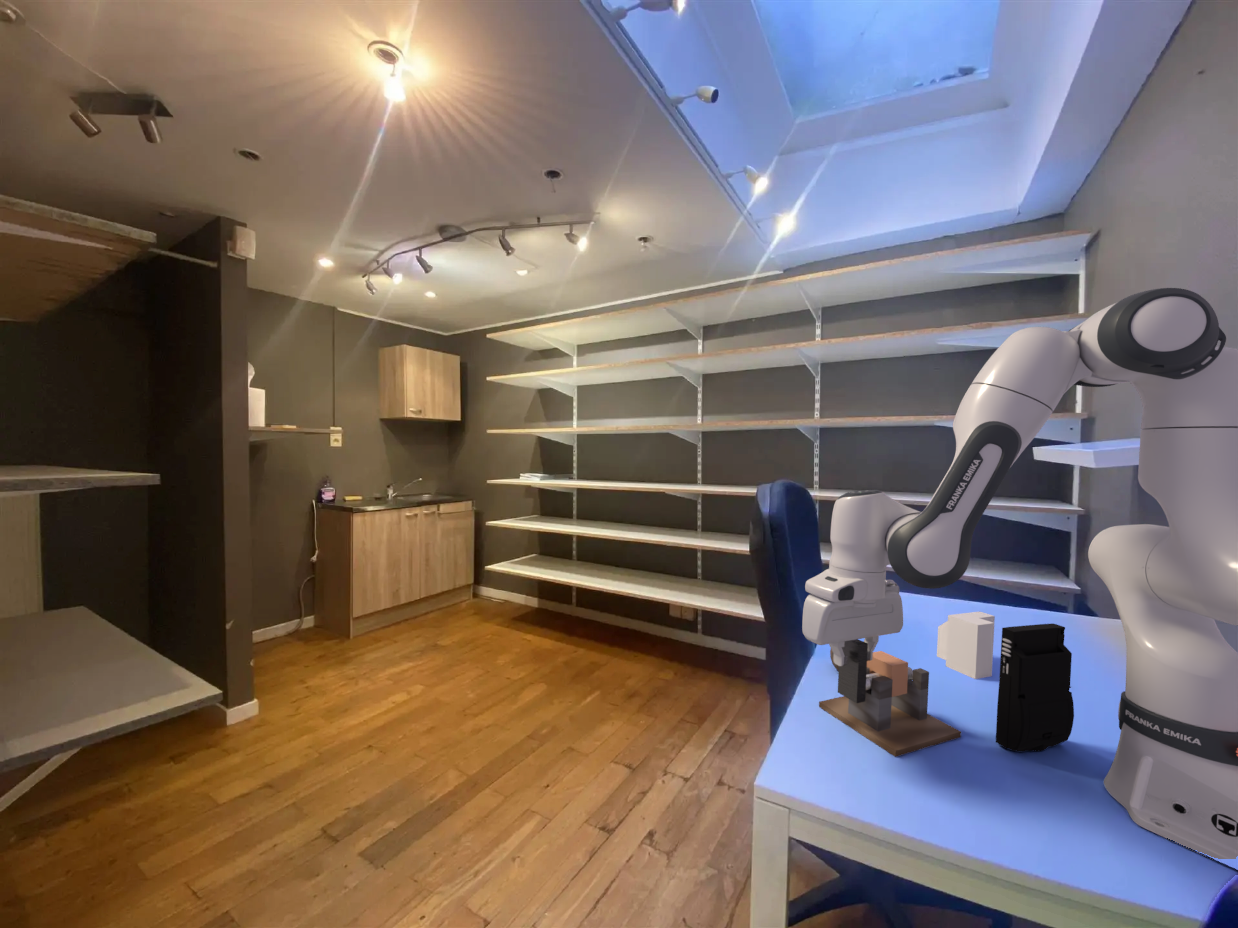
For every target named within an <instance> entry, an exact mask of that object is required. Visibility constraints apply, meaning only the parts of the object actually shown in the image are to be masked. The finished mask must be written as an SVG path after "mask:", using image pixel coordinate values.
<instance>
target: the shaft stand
mask: <svg viewBox="0 0 1238 928" xmlns="http://www.w3.org/2000/svg"><path fill="white" fill-rule="evenodd" d="M912 670H913V680H911V681H907V694H903V695H898V696H894V697H892V682H893V680H892V679H890V678H888V677H886V676H880V677H875V678H872V689H870V690H866V695H865V702H861V703H855V702H853V701H852V700H850V699H848V698H846V697H845V696H843V695H842V696H839V697H834V698H830V699H824V700H821V701H819V702H818V707H819V708H820V709H821V710H823V711H824V712H826V713H827V714H830V715H831V716H832V717H834V718H835V719H837V720H839V721H840V722H842V723H843V724H844V725H846V726H847V727H849V728H851V729H852V730H854V731H856V732H857V733H858V734H860V735H861V736H863V737H865V738H866V740H869V741H870V742H872V743H873V744H875V745H877V746H878V747H880V748H881V749H882V750H884V751H886V752H887V753H889V754H890V755H892V756H894V757H895V758H896V757H899V756H903V755H907V754H909V753H913V752H914V753H915V752H916V751H917V752H918V751H919V750H923V749H926V748H929V747H932V746H937V745H939V744H943V743H946V742H949V741H953V740H956V739H961V738H962V731H961V730H959V729H957V728H956V727H953V726H951V725H950V724H948V723H946V722H944V721H942V720H940V719H939V718H937V717H934V716H932V715H931V714H929V713H928V706H929V705H928V704H929V702H928V699H929V683H930V681H929V680H930V678H929V677H930V671H928V670H925V669H923V668H921V667H918V668H916V669H915V668H914V669H912ZM869 672H870V668H868V667H867V672H866V675H867V674H869Z"/></svg>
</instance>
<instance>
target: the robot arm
mask: <svg viewBox="0 0 1238 928" xmlns="http://www.w3.org/2000/svg"><path fill="white" fill-rule="evenodd" d="M1219 324H1220V323H1219V320H1218V316H1217V313H1216V311H1215V310H1214V308H1213V307H1212V305H1211V304H1210V303H1209V301H1208V300H1206V299H1205V298H1204V297H1203V296H1201V294H1198V293H1197V292H1195V291H1193V290H1190V289H1187V288H1181V287H1180V288H1178V287H1162V288H1153V289H1147V290H1144V291H1140V292H1136V293H1134V294H1131V295H1128V296H1126V297H1124V298H1123V299H1121V300H1119V301H1118V302H1115V303H1112V304H1110V305H1109V306H1106V307H1104V308H1102V309H1100V310H1099V311H1097V312H1095V313H1094V314H1092V315H1090V316H1089V317H1088V318H1087V319H1086V320H1084V321H1082V322H1081V323H1079V324H1078V325H1076V326H1074V327H1072V328H1071V329H1069V330H1067V331H1066V330H1063V331H1062V330H1061V329H1060V330H1059V329H1058V328H1053V327H1049V326H1030V327H1025V328H1021V329H1019V330H1016V331H1015V332H1013V333H1011V335H1009V336H1008V337H1007V338H1006V339H1005V340H1004V341H1003V342H1002V344H1000V346H999V347H997V349H996V350H995V351H994V352H993V353H992V354H991V355H990V357H989V358H988V360H986V362H985V363H984V365H983V366H982V368H981V369H980V370H979V372H978V373H977V375H976V376H975V377H974V379H973V381H972V382H971V384H970V385H969V387H968V389H967V391H966V392H965V394H964V396H963V397H962V399H961V401H960V403H959V406H958V409H957V411H956V413H955V415H954V418H953V423H952V430H953V434H954V438H955V454H954V457H953V460H952V463H951V464H950V466H949V468H948V470H947V472H946V474H945V475H944V477H943V479H942V481H941V482H940V483H939V485H938V487H937V488H936V490H935V492H934V493H933V495H932V497H931V498H930V500H929V502H928V503H927V505H926V507H925V508H924V509H923V511H919V510H917V509H914V508H912V507H910V506H907V505H905V504H903V503H902V502H901V503H900V502H899V501H897V500H895V499H894V498H892V497H890V496H889V495H887V494H886V493H885V492H884V491H882V490H880V489H864V490H862V489H861V490H854V491H849V492H845V493H843V494H841V495H840V496H839V497H838V498H837V499H836V500H835V502H834V505H833V509H832V514H831V523H830V537H829V538H830V542H831V543H830V544H831V548H832V549H831V556H830V558H829V563H828V566H829V567H828V568H827V569H825V570H824V571H822V572H821V573H818V574H817V575H815V576H813V577H811V578H809V579H807V580H806V581H805V585H804V588H805V592H806V593H808V595H807V596H806V598H805V599H804V600H805V601H804V602H803V608H802V626H801V628H802V629H801V630H802V634H803V635H804V637H805V639H806V640H807V641H809V642H812V643H814V644H815V645H818V646H824V645H828V646H829V647H830V650H831V649H832V651H833V653H834V657H833V661H834V663H835V664H836V665H838V666H844V665H847V664H848V655H846V654H844V653H843V650H842V647H844V643H845V641H850V640H856V639H858V640H862V639H864V640H863V642H865V643H867V644H868V650H867V661H871V660H872V657H873V652H875V649H876V646H877V645H878V643H879V638H880V637H881V636H885V635H892V634H897V633H900V632H901V631H902V629H903V626H904V610H903V609H904V607H903V600H902V596H901V594H900V586H899V585H898V584H897V582H895V581H894V580H893V579H887V577H886V576H887V566H889V565H890V567H891V569H892V570H893V571H894V572H895V574H896V575H897V576H898V577H900V578H901V580H903V581H904V582H906V583H908V584H910V585H913V586H915V587H918V588H922V589H932V590H933V589H941V588H945V587H948V586H951V585H953V584H954V583H956V582H957V581H959V580H960V579H961V578H962V577H963V576H964V575H965V573H966V572H967V569H968V568H969V564H970V561H971V550H972V540H973V535H974V532H975V529H976V527H977V525H978V523H979V521H981V518H982V516H983V514H984V513H985V511H986V509H987V508H988V506H989V504H990V503H991V501H992V499H993V498H994V496H995V494H996V493H997V491H998V490H999V487H1000V486H1001V484H1002V482H1003V480H1004V479H1005V477H1006V476H1007V474H1008V471H1009V470H1010V468H1012V466H1013V464H1014V463H1015V462H1016V461H1017V460H1018V458H1019V457H1020V455H1021V454H1022V453H1023V452H1024V451H1025V450H1026V448H1027V447H1028V446H1029V445H1030V444H1031V442H1032V441H1033V440H1034V439H1035V437H1036V436H1037V435H1038V433H1039V432H1040V431H1041V429H1042V428H1043V426H1044V425H1045V424H1046V422H1047V421H1048V420H1049V418H1050V417H1051V415H1052V414H1053V412H1054V411H1055V409H1056V407H1057V406H1058V405H1059V403H1060V401H1061V399H1062V398H1063V396H1064V394H1066V392H1067V391H1069V389H1070V388H1071V387H1073V386H1078V387H1079V386H1081V387H1089V388H1090V387H1091V388H1104V387H1110V386H1114V385H1119V384H1125V383H1129V382H1130V384H1131V386H1133V387H1134V389H1135V390H1136V391H1137V393H1138V396H1139V398H1140V401H1141V407H1143V408H1142V415H1141V423H1140V433H1139V434H1140V437H1139V452H1138V454H1139V455H1138V471H1137V480H1138V483H1139V485H1140V487H1141V488H1142V490H1144V492H1146V493H1147V494H1148V495H1149V496H1151V497H1153V498H1154V500H1156V501H1157V503H1158V504H1159V505H1160V507H1161V508H1162V510H1163V513H1164V515H1165V517H1166V520H1167V523H1168V526H1165V525H1159V524H1148V523H1143V524H1123V525H1115V526H1110V527H1107V528H1104V529H1103V530H1101V531H1100V532H1098V533H1097V534H1096V535H1095V536H1094V537H1093V539H1092V541H1090V542H1091V543H1090V545H1089V547H1088V552H1087V557H1088V561H1089V565H1090V567H1091V569H1092V570H1093V571H1094V573H1095V574H1097V576H1098V577H1099V578H1100V579H1101V580H1102V582H1103V583H1104V585H1106V588H1107V589H1108V591H1109V593H1110V595H1111V596H1112V599H1113V601H1114V605H1115V607H1116V610H1117V613H1118V615H1119V619H1120V621H1121V625H1122V628H1123V632H1124V637H1125V646H1126V647H1125V648H1126V650H1125V651H1126V652H1125V653H1126V654H1125V655H1126V662H1125V664H1126V665H1125V668H1126V669H1125V690H1123V691H1121V693H1120V699H1119V702H1118V712H1117V713H1118V715H1117V716H1118V729H1119V730H1120V734H1119V740H1118V744H1117V747H1116V748H1117V749H1116V751H1115V755H1114V759H1113V760H1112V764H1111V765H1110V767H1109V770H1108V771H1107V774H1106V775H1105V777H1104V779H1103V785H1104V788H1105V789H1106V791H1107V793H1109V794H1110V796H1111V797H1112V798H1113V799H1115V800H1116V801H1117V803H1119V804H1120V805H1122V807H1124V809H1125V810H1126V811H1127V813H1128V815H1129V817H1130V818H1131V819H1132V821H1133V823H1135V824H1136V825H1138V826H1139V827H1142V828H1143V829H1145V830H1148V831H1149V832H1152V833H1153V834H1154V833H1155V834H1156V835H1158V836H1161V837H1162V838H1165V839H1167V838H1168V839H1167V840H1169V839H1170V840H1169V841H1171V840H1173V841H1175V842H1174V843H1176V842H1177V843H1176V844H1178V843H1179V845H1180V844H1181V845H1180V846H1182V845H1183V847H1184V846H1186V847H1185V848H1187V847H1188V848H1187V849H1189V848H1191V849H1193V850H1197V851H1198V852H1202V853H1204V854H1207V855H1209V856H1211V857H1214V858H1218V859H1236V857H1237V856H1238V651H1236V650H1235V649H1234V648H1233V647H1232V646H1231V645H1230V644H1229V643H1228V642H1227V640H1226V639H1225V638H1224V636H1223V634H1222V633H1221V631H1220V629H1219V627H1218V625H1217V623H1216V621H1218V622H1222V623H1226V624H1229V625H1232V626H1235V627H1236V626H1238V348H1234V347H1229V346H1228V347H1227V346H1226V342H1227V335H1226V334H1225V332H1224V331H1223V329H1222V328H1221V327H1220V325H1219ZM1218 341H1220V343H1219V346H1217V345H1218ZM879 636H880V637H879ZM1173 841H1172V842H1173ZM1191 849H1190V850H1191ZM1193 850H1192V851H1193ZM1198 852H1197V853H1198Z"/></svg>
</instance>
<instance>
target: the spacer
mask: <svg viewBox="0 0 1238 928" xmlns="http://www.w3.org/2000/svg"><path fill="white" fill-rule="evenodd" d="M867 667H868V668H870V672H869V674H872V673H878V674H880V675H882V676H886V677H888V678H890V679H892V680H893V682H892V697H894V696H898V695H903V694H907V681H908V667H909V662H908V661H905V660H904V659H901V658H899V657H896V656H894V655H891V654H889V653H887V652H884V651H882V650H878V651H873V657H872V660H871V661H867Z"/></svg>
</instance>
